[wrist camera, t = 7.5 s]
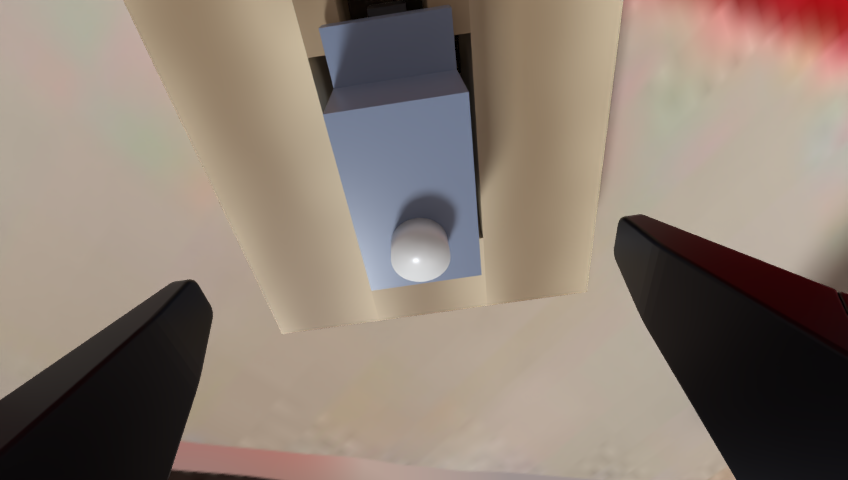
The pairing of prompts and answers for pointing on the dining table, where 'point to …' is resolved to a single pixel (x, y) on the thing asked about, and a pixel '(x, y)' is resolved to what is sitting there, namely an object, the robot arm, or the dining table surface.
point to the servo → (403, 144)
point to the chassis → (317, 170)
